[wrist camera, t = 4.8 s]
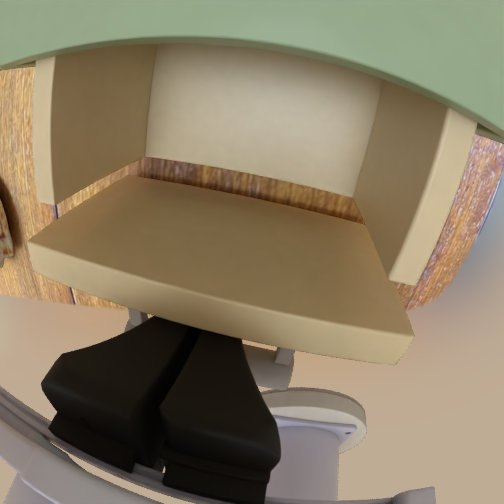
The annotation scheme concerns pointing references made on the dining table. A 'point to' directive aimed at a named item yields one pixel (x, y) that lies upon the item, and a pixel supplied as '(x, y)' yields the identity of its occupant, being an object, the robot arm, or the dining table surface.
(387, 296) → the drawer
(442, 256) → the dining table surface
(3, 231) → the seashell
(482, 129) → the cabinet
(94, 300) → the dining table surface
